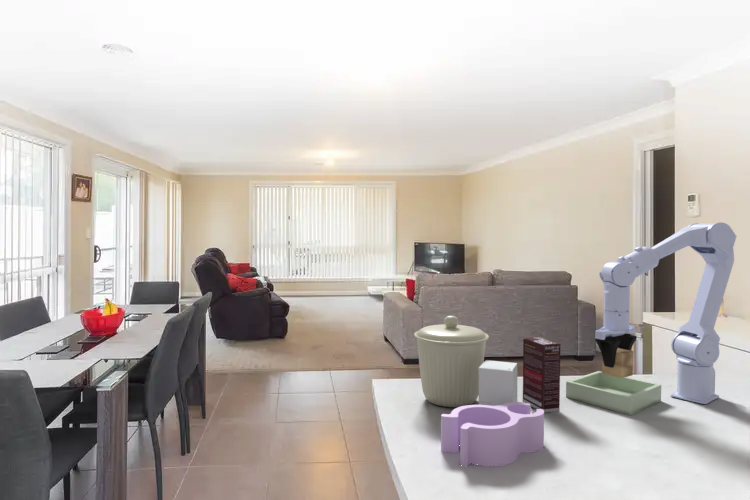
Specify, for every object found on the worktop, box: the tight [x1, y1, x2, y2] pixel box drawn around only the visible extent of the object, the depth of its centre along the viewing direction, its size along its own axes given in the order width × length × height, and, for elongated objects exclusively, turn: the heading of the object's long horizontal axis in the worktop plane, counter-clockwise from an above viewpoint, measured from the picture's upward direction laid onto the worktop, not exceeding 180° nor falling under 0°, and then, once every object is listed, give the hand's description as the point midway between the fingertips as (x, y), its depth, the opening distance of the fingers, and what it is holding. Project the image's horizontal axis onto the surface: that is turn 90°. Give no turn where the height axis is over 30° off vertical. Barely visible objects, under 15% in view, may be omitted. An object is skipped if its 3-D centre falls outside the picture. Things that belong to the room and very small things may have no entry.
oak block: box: [601, 348, 635, 378], centre depth 124 cm, size 5×5×6 cm
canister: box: [413, 315, 490, 408], centre depth 123 cm, size 18×18×21 cm
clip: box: [440, 401, 545, 467], centre depth 96 cm, size 20×12×7 cm, turn 114°
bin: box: [565, 370, 662, 416], centre depth 125 cm, size 16×16×4 cm
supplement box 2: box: [522, 336, 561, 414], centre depth 120 cm, size 9×5×16 cm, turn 17°
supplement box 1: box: [478, 359, 518, 406], centre depth 110 cm, size 7×7×13 cm
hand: (615, 365), depth 125 cm, fingers closed on oak block, 5 cm apart
